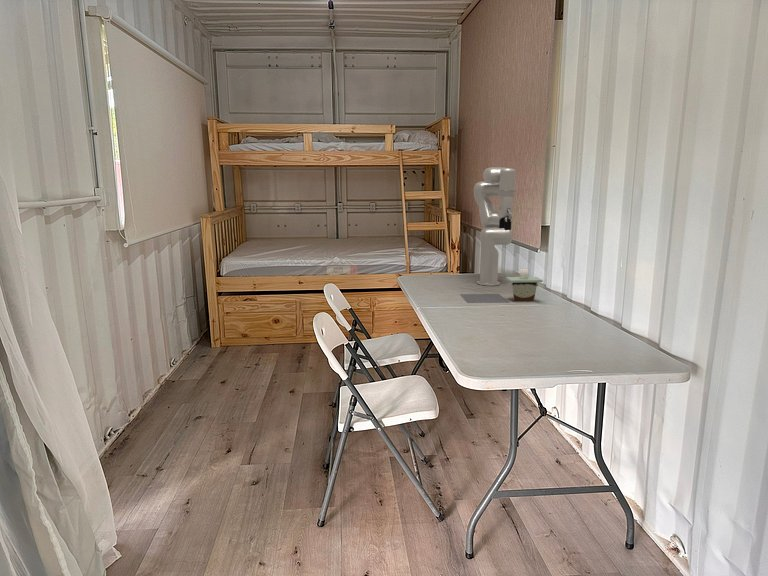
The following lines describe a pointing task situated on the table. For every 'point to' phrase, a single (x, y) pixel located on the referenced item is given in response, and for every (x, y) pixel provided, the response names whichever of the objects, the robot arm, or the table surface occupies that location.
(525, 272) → the lid
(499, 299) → the mat
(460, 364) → the table surface
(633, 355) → the table surface
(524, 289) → the food container
